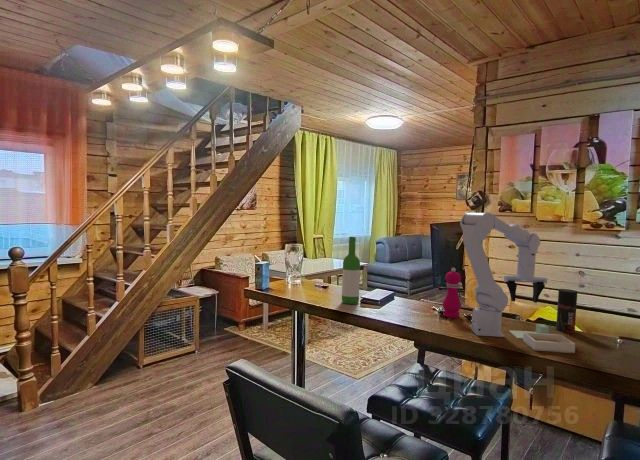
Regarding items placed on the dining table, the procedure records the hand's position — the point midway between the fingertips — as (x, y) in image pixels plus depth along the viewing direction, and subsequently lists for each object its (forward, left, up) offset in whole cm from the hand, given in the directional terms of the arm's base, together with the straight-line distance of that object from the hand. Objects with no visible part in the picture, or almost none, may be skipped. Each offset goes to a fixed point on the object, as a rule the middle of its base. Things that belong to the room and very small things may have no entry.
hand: (523, 301), depth 149 cm
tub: (+1, -19, -10) cm, 22 cm away
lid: (0, -7, -11) cm, 13 cm away
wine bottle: (-65, +26, -11) cm, 71 cm away
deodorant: (+16, +2, -11) cm, 19 cm away
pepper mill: (-23, +13, -11) cm, 28 cm away
